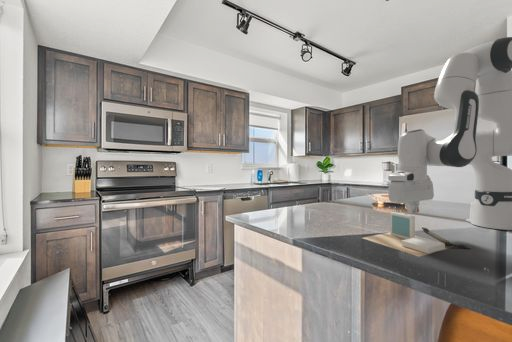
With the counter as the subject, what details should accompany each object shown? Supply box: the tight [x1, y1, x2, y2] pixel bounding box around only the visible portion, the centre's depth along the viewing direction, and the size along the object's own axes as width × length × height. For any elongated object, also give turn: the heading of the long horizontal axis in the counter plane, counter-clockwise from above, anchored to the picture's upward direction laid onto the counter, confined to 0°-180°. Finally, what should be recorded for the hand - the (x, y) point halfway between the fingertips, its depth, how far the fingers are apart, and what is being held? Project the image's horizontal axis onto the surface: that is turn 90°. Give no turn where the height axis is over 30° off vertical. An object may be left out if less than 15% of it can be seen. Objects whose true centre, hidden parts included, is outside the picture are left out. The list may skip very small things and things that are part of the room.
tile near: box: [402, 236, 446, 255], centre depth 76 cm, size 2×8×8 cm
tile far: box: [389, 211, 416, 239], centre depth 87 cm, size 2×8×8 cm, turn 24°
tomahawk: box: [421, 227, 472, 250], centre depth 84 cm, size 21×7×1 cm, turn 166°
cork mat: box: [362, 231, 454, 258], centre depth 82 cm, size 18×20×1 cm
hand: (412, 213), depth 89 cm, fingers closed
